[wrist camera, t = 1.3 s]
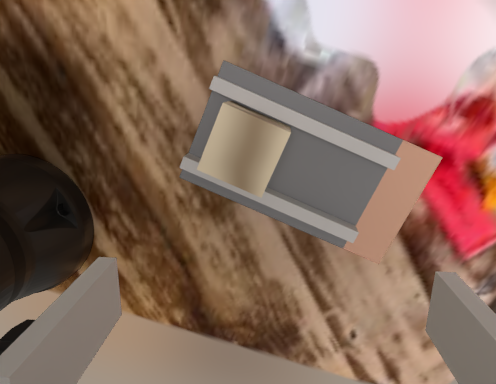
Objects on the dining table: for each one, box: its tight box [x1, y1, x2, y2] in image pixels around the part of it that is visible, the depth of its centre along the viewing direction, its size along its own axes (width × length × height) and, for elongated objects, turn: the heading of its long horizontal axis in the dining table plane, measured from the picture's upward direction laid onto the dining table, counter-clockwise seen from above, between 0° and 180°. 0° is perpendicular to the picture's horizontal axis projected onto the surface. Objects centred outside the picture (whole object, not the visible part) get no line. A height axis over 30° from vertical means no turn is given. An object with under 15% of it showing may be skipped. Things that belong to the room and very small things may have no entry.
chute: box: [180, 61, 443, 264], centre depth 35 cm, size 22×12×3 cm, turn 67°
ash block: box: [197, 101, 291, 198], centre depth 33 cm, size 6×6×5 cm
